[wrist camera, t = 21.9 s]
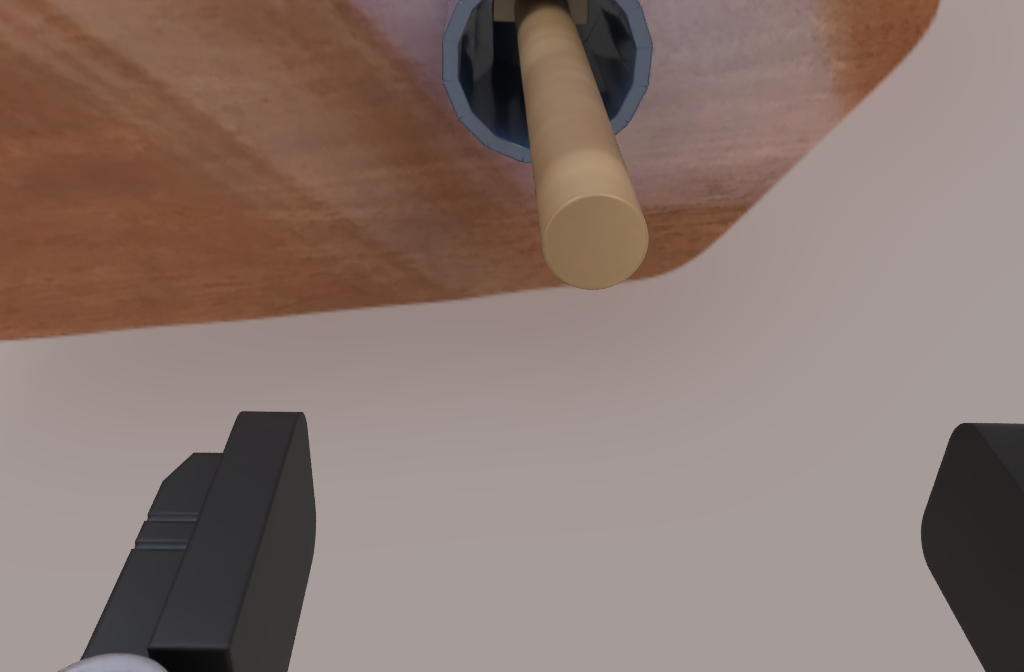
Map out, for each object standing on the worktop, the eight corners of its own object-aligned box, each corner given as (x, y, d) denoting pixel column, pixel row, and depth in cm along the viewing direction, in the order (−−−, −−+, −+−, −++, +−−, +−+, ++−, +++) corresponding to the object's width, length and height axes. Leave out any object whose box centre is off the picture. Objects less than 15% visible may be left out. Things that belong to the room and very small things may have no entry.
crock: (619, -90, 35) (663, -45, 26) (605, 76, 38) (640, 166, 29) (452, -96, 34) (441, -51, 26) (452, 73, 38) (442, 161, 29)
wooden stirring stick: (577, -43, 35) (697, 197, 15) (574, 7, 36) (682, 293, 16) (492, -47, 35) (502, 191, 15) (491, 3, 36) (499, 288, 16)
